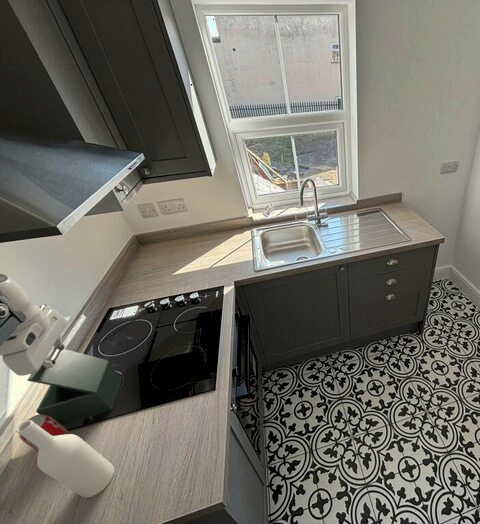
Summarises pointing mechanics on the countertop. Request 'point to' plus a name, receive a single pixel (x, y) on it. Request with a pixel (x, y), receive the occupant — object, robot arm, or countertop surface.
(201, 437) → the countertop surface
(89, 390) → the bin lid
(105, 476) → the bottle
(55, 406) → the bin
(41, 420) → the soda can
